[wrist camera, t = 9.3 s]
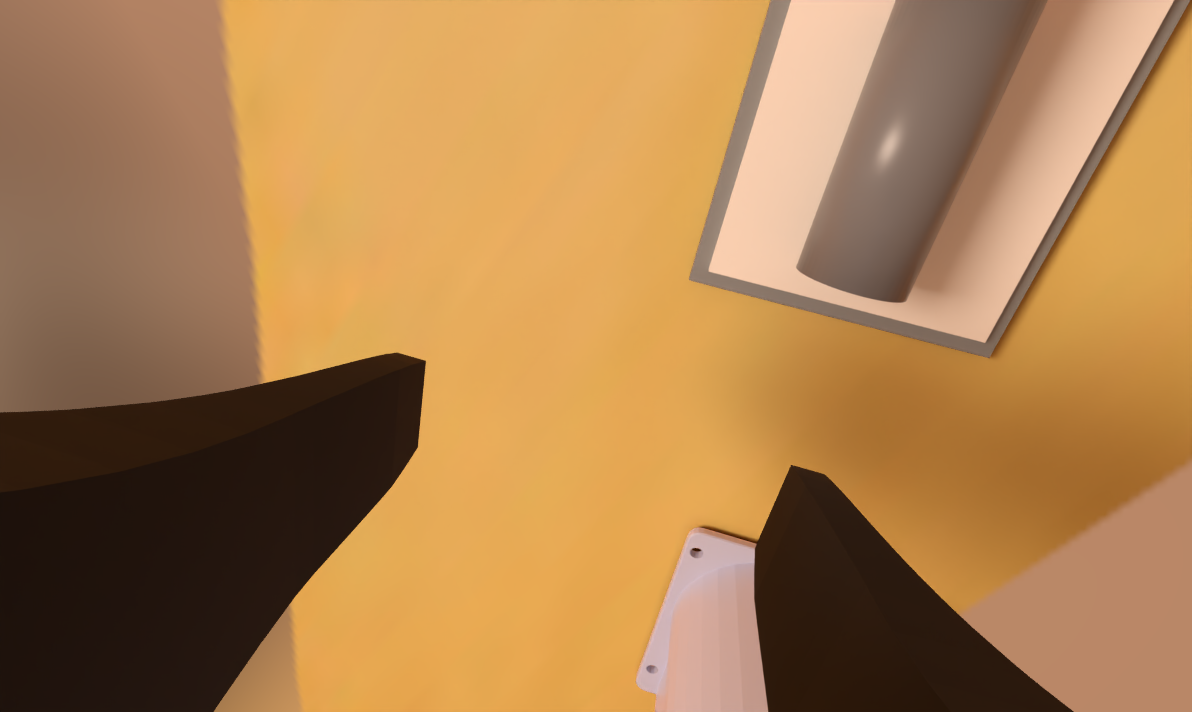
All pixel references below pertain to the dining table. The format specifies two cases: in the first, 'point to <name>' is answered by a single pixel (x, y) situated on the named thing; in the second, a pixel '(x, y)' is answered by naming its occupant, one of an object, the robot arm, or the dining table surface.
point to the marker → (913, 140)
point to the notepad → (991, 185)
